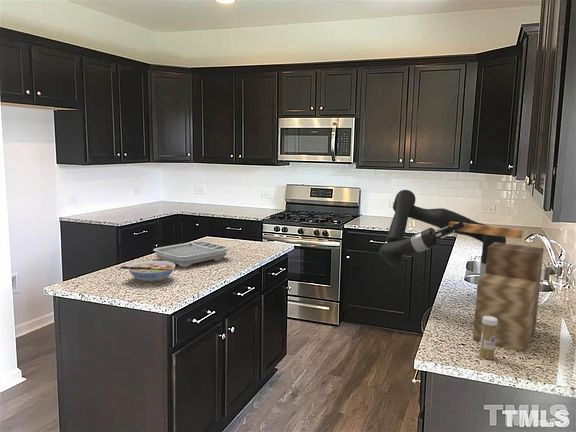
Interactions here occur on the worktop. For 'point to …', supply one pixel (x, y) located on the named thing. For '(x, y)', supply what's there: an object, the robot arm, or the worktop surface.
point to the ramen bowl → (150, 270)
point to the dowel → (490, 230)
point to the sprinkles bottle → (488, 337)
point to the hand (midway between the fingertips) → (464, 223)
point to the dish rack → (191, 252)
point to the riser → (510, 294)
